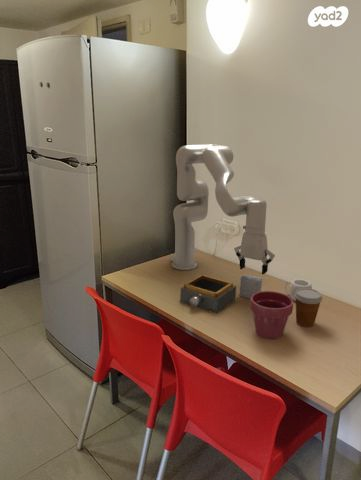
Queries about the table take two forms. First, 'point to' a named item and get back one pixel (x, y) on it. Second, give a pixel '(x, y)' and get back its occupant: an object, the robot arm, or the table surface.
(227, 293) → the box
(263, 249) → the robot arm
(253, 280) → the medicine box
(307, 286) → the mug
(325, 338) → the table surface
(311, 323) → the disposable coffee cup
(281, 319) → the plant pot
